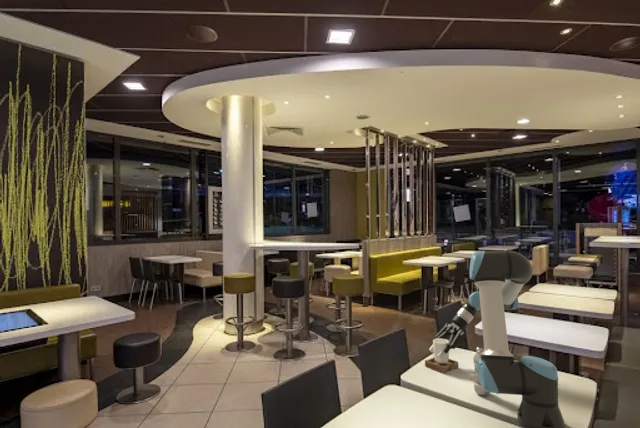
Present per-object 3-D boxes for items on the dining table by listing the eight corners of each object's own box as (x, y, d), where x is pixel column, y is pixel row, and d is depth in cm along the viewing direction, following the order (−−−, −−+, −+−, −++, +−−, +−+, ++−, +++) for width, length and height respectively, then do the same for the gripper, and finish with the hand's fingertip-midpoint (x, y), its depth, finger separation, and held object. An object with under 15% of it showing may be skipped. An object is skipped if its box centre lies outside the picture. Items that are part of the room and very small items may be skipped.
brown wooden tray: (443, 373, 185) (443, 367, 185) (425, 366, 195) (424, 360, 195) (458, 367, 192) (458, 362, 192) (439, 361, 201) (439, 355, 201)
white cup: (430, 359, 195) (429, 339, 195) (442, 356, 198) (441, 337, 198) (441, 364, 188) (440, 344, 188) (453, 361, 191) (452, 341, 191)
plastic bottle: (481, 398, 160) (480, 351, 160) (470, 391, 167) (469, 345, 167) (494, 396, 162) (492, 349, 162) (483, 389, 168) (482, 344, 168)
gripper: (479, 329, 187) (451, 366, 183) (455, 318, 207) (429, 351, 203) (470, 319, 186) (441, 356, 182) (446, 309, 206) (420, 343, 202)
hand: (435, 354), depth 192 cm, fingers closed on white cup, 8 cm apart
